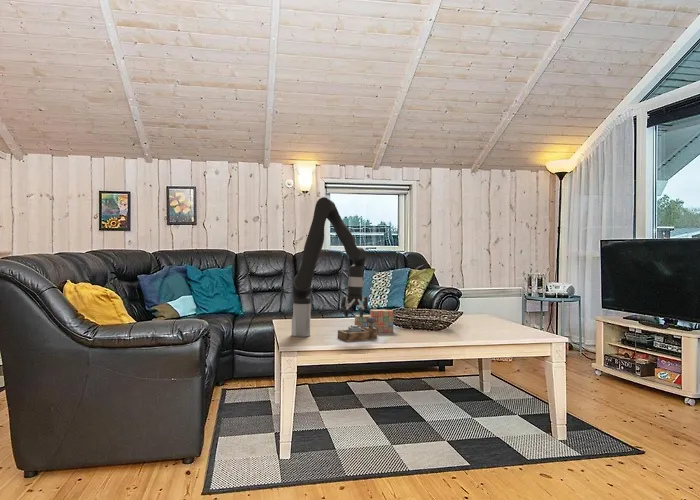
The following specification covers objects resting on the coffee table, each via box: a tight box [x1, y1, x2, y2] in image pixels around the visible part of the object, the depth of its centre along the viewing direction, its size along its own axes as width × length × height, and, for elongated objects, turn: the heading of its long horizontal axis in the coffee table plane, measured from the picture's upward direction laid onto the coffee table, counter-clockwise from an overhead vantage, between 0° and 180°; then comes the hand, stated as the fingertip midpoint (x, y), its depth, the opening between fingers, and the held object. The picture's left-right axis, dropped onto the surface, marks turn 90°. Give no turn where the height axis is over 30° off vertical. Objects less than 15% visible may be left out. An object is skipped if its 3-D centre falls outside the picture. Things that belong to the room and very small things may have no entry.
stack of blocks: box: [354, 309, 395, 333], centre depth 284 cm, size 21×6×12 cm, turn 103°
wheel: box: [367, 317, 375, 323], centre depth 265 cm, size 5×5×2 cm
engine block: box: [347, 324, 361, 333], centre depth 260 cm, size 5×5×7 cm
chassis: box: [337, 322, 378, 342], centre depth 262 cm, size 19×10×8 cm, turn 118°
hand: (353, 316), depth 259 cm, fingers open, 8 cm apart
